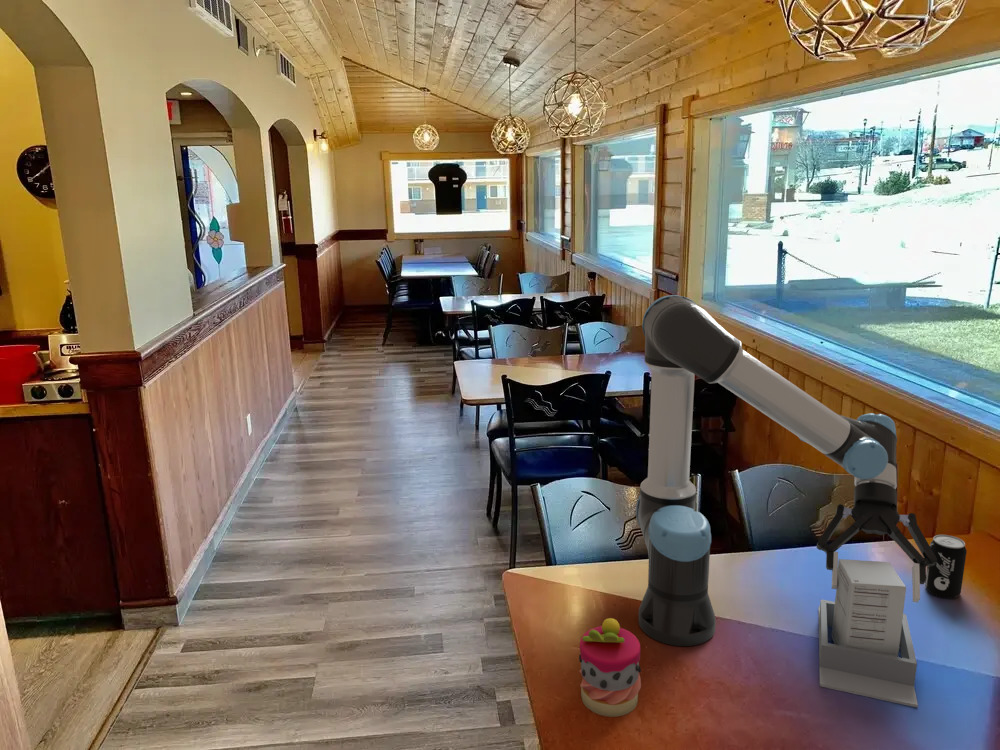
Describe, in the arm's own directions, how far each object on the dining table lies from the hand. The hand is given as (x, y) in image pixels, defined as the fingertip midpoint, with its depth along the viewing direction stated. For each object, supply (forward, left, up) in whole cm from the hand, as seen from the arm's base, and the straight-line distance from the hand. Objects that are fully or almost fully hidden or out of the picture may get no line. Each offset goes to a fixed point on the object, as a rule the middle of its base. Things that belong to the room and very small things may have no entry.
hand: (874, 593), depth 132 cm
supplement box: (-1, -2, -11) cm, 12 cm away
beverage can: (+16, +27, -11) cm, 33 cm away
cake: (-42, -31, -11) cm, 54 cm away
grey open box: (-1, -2, -11) cm, 12 cm away
